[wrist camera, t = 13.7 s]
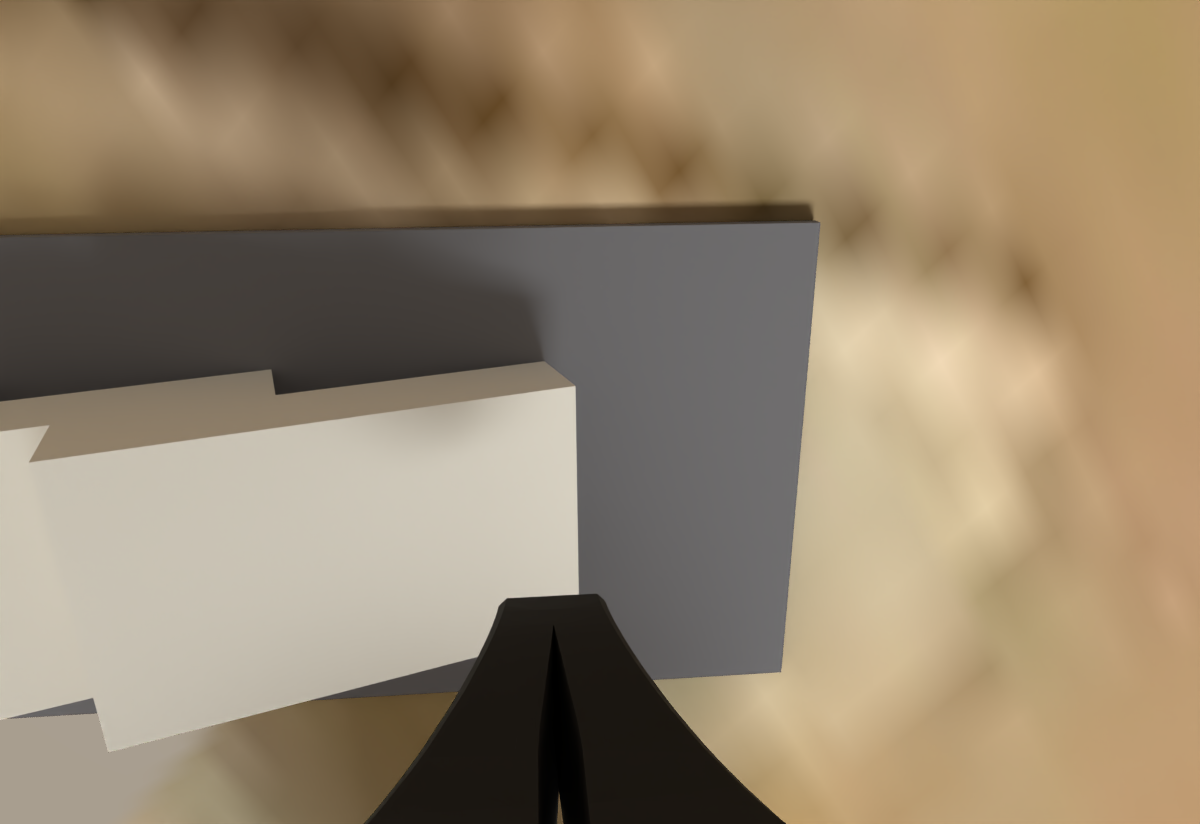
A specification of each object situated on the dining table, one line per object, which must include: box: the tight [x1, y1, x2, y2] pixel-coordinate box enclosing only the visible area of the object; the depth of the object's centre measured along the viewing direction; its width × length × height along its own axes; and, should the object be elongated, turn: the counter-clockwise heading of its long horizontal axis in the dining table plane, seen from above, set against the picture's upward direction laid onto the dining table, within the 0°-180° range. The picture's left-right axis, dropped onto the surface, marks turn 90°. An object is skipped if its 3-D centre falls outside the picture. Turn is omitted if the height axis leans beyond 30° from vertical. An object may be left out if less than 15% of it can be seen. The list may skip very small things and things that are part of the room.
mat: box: [0, 221, 820, 719], centre depth 16 cm, size 28×10×1 cm, turn 90°
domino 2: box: [29, 361, 579, 753], centre depth 14 cm, size 2×5×8 cm
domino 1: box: [0, 369, 275, 720], centre depth 14 cm, size 2×5×8 cm
